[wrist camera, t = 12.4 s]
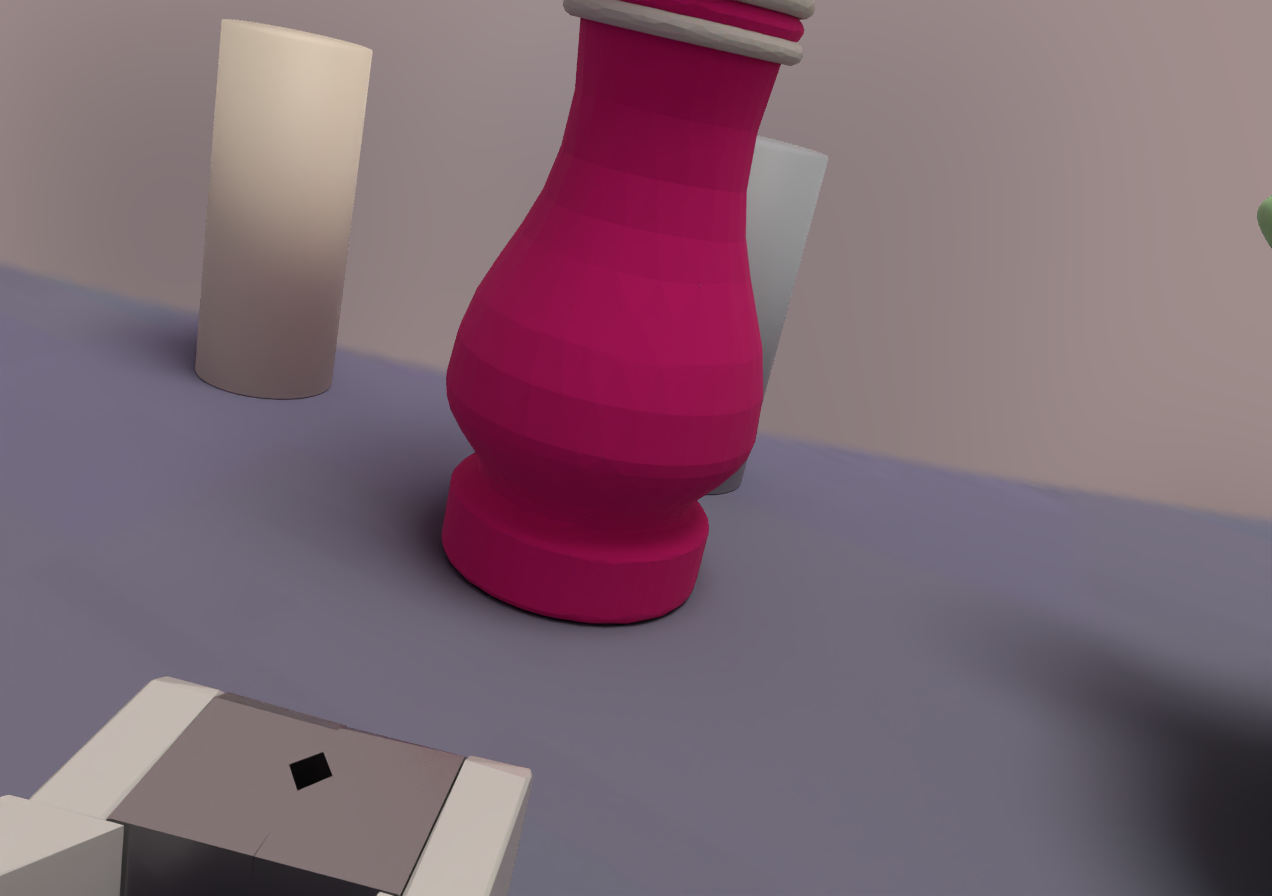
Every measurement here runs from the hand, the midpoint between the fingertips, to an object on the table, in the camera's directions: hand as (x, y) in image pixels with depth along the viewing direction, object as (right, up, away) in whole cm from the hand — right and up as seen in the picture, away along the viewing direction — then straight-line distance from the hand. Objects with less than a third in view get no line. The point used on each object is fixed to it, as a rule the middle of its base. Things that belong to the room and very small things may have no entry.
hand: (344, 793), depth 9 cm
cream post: (-9, +5, +25) cm, 28 cm away
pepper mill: (+1, 0, +18) cm, 18 cm away
